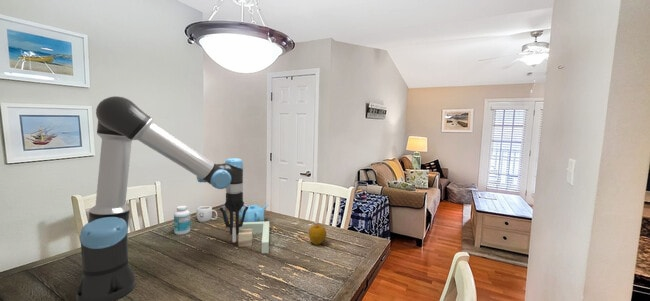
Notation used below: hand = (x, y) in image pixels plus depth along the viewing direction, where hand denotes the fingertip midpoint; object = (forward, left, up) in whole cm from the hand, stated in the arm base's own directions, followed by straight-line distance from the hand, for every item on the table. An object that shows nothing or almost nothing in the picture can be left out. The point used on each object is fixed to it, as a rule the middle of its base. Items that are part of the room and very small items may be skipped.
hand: (234, 240), depth 126 cm
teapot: (+24, -7, -2) cm, 25 cm away
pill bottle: (+18, +28, -2) cm, 33 cm away
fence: (+2, -8, -2) cm, 9 cm away
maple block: (0, -5, -2) cm, 5 cm away
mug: (+34, +20, -2) cm, 39 cm away
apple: (-4, -39, -2) cm, 39 cm away
